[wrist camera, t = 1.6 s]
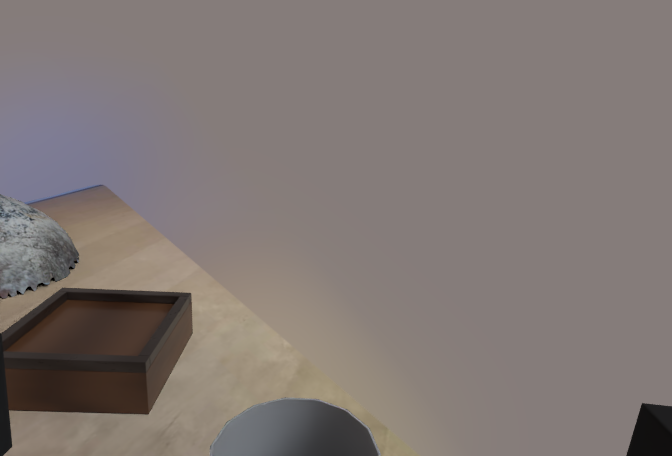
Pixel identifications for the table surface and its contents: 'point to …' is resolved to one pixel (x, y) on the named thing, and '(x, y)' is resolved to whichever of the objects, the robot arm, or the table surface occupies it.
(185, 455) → the table surface
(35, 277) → the bread
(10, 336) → the brown wooden tray
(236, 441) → the cup
